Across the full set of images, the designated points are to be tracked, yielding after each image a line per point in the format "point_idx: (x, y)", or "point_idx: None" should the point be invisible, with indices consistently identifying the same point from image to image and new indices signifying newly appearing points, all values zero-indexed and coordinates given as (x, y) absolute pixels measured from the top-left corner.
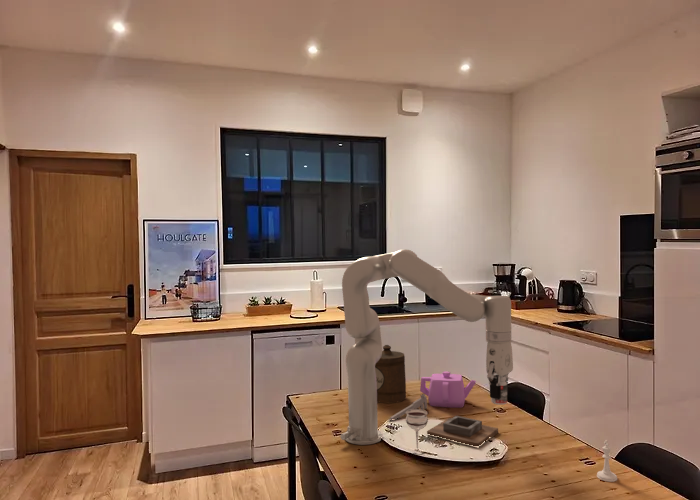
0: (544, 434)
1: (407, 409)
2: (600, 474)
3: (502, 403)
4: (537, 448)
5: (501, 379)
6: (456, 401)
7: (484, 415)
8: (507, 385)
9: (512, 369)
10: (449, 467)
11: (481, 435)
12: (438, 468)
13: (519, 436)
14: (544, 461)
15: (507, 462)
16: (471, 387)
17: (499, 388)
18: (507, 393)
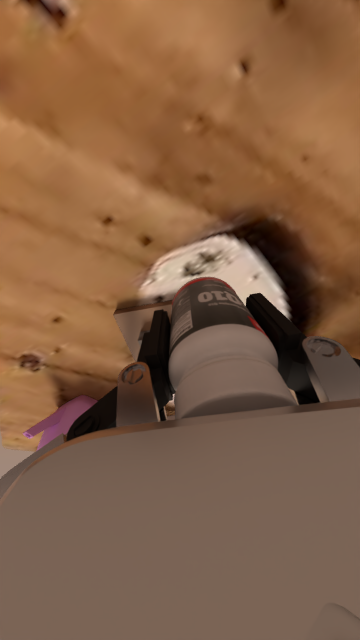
0: (27, 238)
1: (172, 419)
2: None
3: (226, 283)
4: (111, 201)
5: (277, 377)
6: (89, 406)
7: (75, 363)
8: (155, 337)
9: (46, 464)
10: (314, 279)
11: (169, 314)
12: (325, 289)
13: (92, 272)
14: (167, 130)
15: (233, 209)
16: (42, 422)
17: (290, 325)
18: (160, 310)
